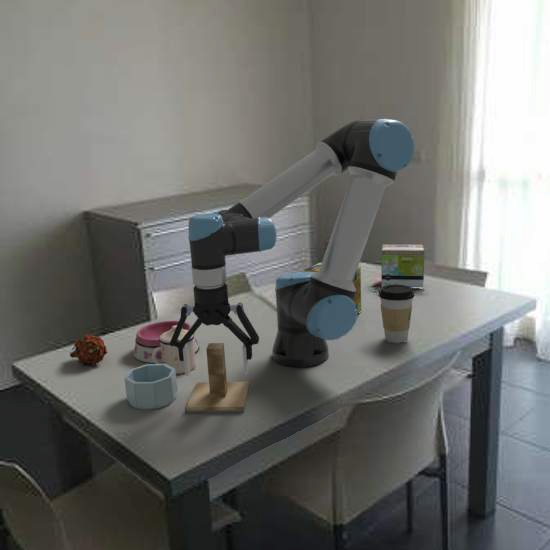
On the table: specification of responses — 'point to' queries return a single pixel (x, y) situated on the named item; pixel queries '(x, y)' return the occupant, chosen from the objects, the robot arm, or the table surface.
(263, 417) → the table surface
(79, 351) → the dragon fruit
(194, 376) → the table surface
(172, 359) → the teacup with lid
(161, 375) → the ceramic bowl
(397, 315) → the coffee cup
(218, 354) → the oak lid
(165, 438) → the table surface
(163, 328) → the dog bowl
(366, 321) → the table surface
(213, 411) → the slate mat
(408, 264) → the tea box
